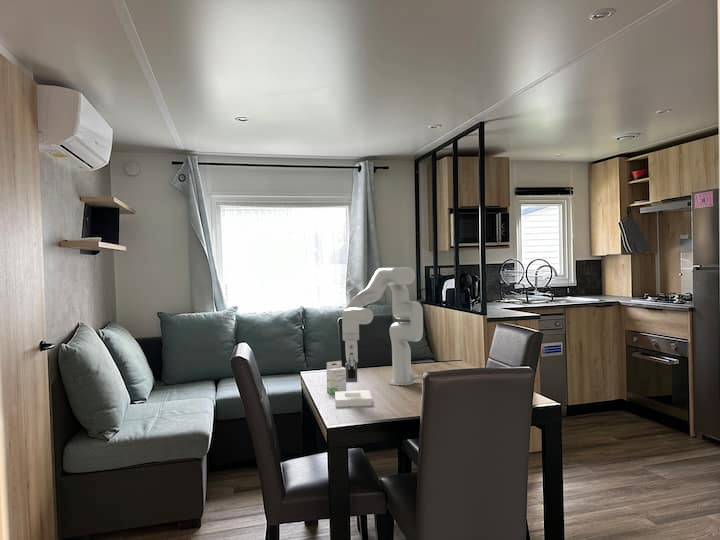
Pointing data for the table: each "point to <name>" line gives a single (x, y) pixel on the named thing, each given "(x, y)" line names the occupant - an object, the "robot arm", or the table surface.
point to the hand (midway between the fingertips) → (351, 376)
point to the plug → (347, 373)
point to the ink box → (336, 377)
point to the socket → (353, 398)
